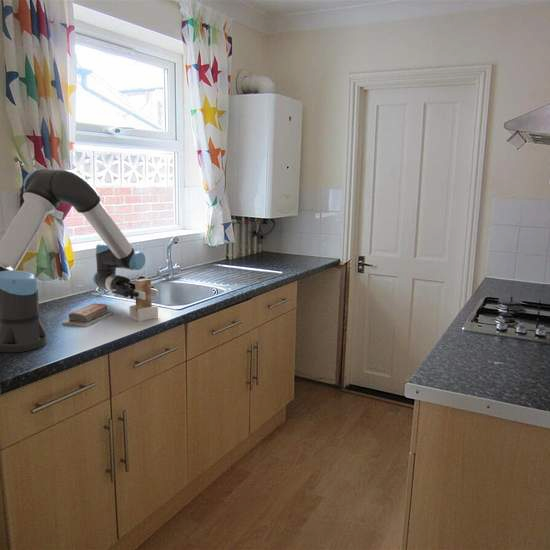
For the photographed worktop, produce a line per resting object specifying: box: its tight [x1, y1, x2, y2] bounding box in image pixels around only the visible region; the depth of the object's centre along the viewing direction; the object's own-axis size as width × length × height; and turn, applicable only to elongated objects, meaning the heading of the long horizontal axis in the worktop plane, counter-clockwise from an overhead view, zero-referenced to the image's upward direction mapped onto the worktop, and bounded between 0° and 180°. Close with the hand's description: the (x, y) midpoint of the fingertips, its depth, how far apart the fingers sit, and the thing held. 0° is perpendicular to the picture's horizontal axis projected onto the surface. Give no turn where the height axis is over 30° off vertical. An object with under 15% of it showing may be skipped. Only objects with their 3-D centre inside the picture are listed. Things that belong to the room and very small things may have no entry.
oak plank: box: [134, 277, 153, 311], centre depth 199 cm, size 5×3×12 cm, turn 136°
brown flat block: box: [61, 302, 114, 328], centre depth 197 cm, size 18×5×10 cm
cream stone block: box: [129, 304, 159, 322], centre depth 200 cm, size 8×7×4 cm
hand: (151, 294), depth 195 cm, fingers closed on oak plank, 5 cm apart
